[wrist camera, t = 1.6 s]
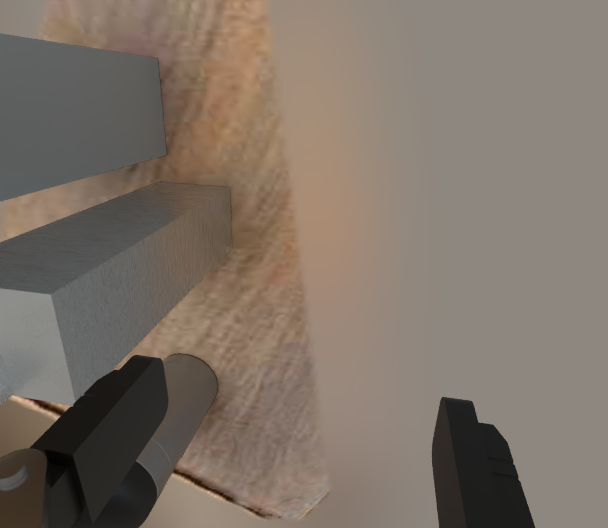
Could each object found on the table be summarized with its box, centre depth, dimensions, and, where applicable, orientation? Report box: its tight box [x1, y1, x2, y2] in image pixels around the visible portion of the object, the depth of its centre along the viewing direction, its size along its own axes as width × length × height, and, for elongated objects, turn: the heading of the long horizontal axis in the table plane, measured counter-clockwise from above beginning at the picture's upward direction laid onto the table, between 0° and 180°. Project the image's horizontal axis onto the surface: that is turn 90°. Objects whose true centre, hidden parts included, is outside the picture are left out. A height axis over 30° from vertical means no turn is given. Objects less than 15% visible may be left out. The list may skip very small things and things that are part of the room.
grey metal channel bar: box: [0, 182, 232, 405], centre depth 36 cm, size 8×9×31 cm
